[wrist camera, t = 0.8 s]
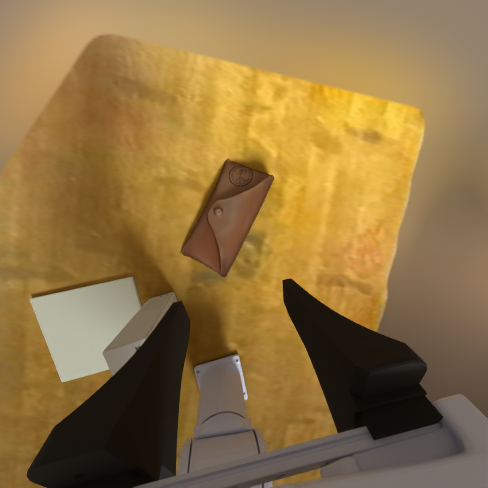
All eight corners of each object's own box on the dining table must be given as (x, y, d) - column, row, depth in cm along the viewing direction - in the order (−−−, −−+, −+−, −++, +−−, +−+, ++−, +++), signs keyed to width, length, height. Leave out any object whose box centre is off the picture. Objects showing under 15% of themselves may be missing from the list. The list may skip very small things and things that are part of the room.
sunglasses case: (225, 153, 28) (251, 149, 23) (254, 178, 32) (281, 179, 27) (177, 255, 28) (193, 274, 23) (212, 265, 33) (231, 282, 28)
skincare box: (148, 298, 28) (99, 351, 17) (174, 290, 29) (145, 336, 17) (159, 331, 29) (121, 403, 17) (185, 323, 30) (165, 388, 18)
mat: (156, 354, 30) (155, 356, 29) (64, 379, 28) (61, 382, 27) (133, 276, 28) (131, 277, 27) (33, 297, 26) (29, 299, 25)
